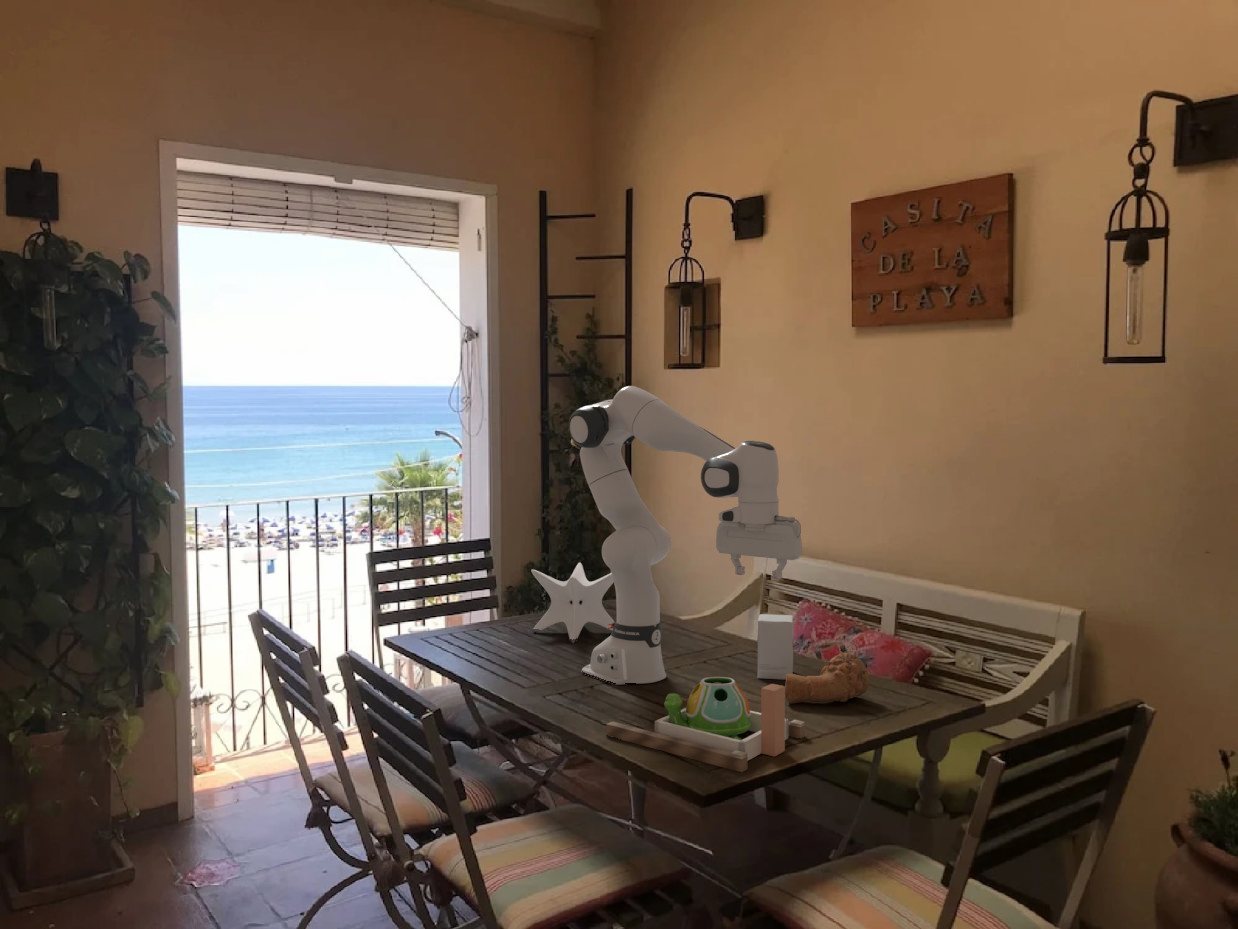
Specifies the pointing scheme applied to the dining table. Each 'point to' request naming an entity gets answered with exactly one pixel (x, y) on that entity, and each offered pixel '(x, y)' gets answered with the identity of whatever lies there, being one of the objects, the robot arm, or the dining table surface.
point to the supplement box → (775, 646)
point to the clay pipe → (830, 682)
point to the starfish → (575, 601)
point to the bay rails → (691, 744)
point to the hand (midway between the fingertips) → (758, 576)
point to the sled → (765, 724)
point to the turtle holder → (712, 708)
